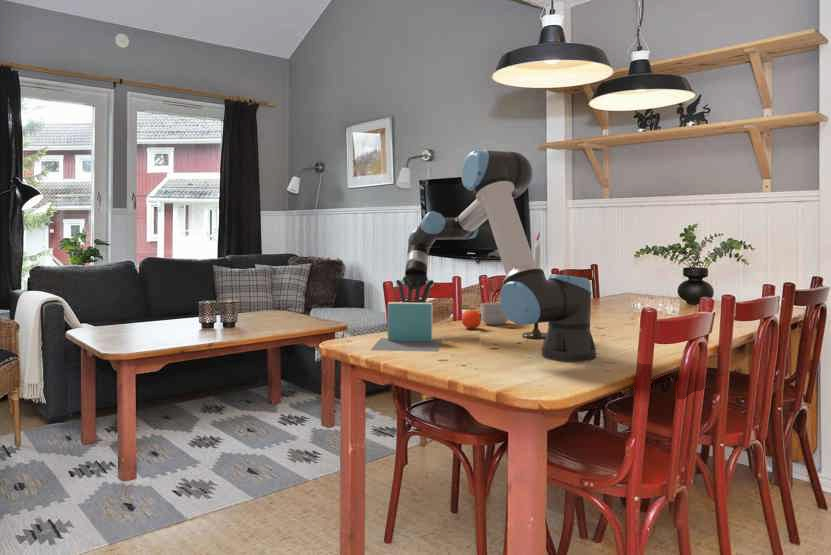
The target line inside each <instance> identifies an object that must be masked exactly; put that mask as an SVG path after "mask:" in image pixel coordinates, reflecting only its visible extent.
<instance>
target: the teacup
mask: <svg viewBox="0 0 831 555" xmlns="http://www.w3.org/2000/svg"><path fill="white" fill-rule="evenodd" d="M479 306H480V316H481V321H483V323H485V324H486V325H488V326H489V325H491V326H492V325H493V326H494V325H495V326H496V325H498V326H499V325H504V324H505V323H506V322H508V320H509V319H508V318H507V317H506V316H505V314H504V312H503V311H502V308H501V305H500V301H499V302H495V301H493V302H482V303H480V305H479Z"/></svg>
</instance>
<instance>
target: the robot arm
mask: <svg viewBox="0 0 831 555" xmlns="http://www.w3.org/2000/svg"><path fill="white" fill-rule="evenodd" d="M525 156H526V155H524V154H522V153H520V152H517V151H501V150H500V151H499V150H487V149H480V150H479V149H478V150H476V149H475V150H473V151H471V152H470V153H469V154H468V155H467V156H466V158H465V159H464V162H463V164H462V168H461V181H462V185H463V187H464V188H465V189H467V190H468V191H473V192H474V195H475V200H474V201H472V203H471V204H470V205H469V206H468V207H467V208H465V210H463V211H462V212H460V214H459V215H457V217H444V215H443V214H441V213H440V212H437V211H433V210H432V211H430V212H429V211H428V212H427V213H426V214H425V216H424V217H423V218H422V219H421V221H420V223H419V225H418V227H417V228H414V230H412V231H411V232H409V237H408V239H407V243H408V244H407V252H406V253H407V254H406V255H407V256H406V261H405V262H406V263H405V271H404V276H403V278H402V279H397V280H396V287H397V288H398V289H399V293H400V299H401V302H408V303H413V302H412V301H413V294H414V290H415V295H414V296H415V298H414V303H427V300H428V297H429V295H430V292H431V290H432V289H433V288H434V287H435V286H434V285H435V284H434V280H433V279H431V280H430V279H429V278H428V265H429V262H428V261H429V253H430V249H431V247H432V246H433V244H434V243H435V241H436V240H437V241H438V240H470V239H475V237H477V235H478V232H479V229H480V228H479V227H480V226H481V225H482V224H484V223H485V222H486V221H487V220H488V223H489V226H490V229H491V232H492V235H493V238H494V242H495V244H496V245H495V246H496V247H497V250H498V254H499V256H500V260H501V263H502V266H503V269H504V272H505V277H504V279H503V281H502V284H503V286H502V288H501V289H500V293H499V295H500V297H499V302H500V305H501V308H502V311H503V312H504V314H505V316H506V317H507V318H508V320H509V321H510V322H513V324H516V325H534V323H538V324H539V323H548V324H547V326H548V328H547V331H546V333H547V334H546V337H545V339H543V343H542V345H541V356H542V357H544V358H546V359H550V360H555V361H562V362H564V361H565V362H586V360H587V361H591V360H595V359H596V358H597V348H596V344H595V342H594V341H595V340H594V339H593V336H592V331H591V316H592V315H591V314H592V313H591V309H592V293H593V292H592V285H591V284H592V283H591V281H590V279H588V277H587V278H586V277H579V276H570V275H561V274H555V273H554V274H552V273H551V274H549V277H548V278H546V274H545V271H544V269H543V268H541V267H540V268H539V267H537V266H536V265H535V262H534V257H533V256H534V255H533V253H532V251H531V248H530V245H529V242H528V239H527V236H526V233H525V230H524V227H523V224H522V221H521V218H520V215H519V212H518V209H517V207H516V204H515V200H514V199H517V198H519V196H521V195H522V194H523V193H524V192H525V191H526V190H527V189H528V187H529V186H530V185H531V182H532V179H533V168H532V165H531V162H530V160H529V159H528V158H527V157H525ZM404 286H406V287H407V288H408V289H407V300H406V298H405V297H406V296H405V291H404ZM424 286H425V287H424ZM423 287H424V291H423V292H422V293H423V294H422V296H421V290H422V288H423ZM594 358H595V359H594Z"/></svg>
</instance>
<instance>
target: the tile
mask: <svg viewBox="0 0 831 555" xmlns="http://www.w3.org/2000/svg"><path fill="white" fill-rule="evenodd" d="M387 338H388V341H432V339H433V302H426V303H415V302H412V303H408V302H402V301H401V302H397V301H389V302H388V303H387Z"/></svg>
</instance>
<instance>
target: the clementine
mask: <svg viewBox="0 0 831 555" xmlns="http://www.w3.org/2000/svg"><path fill="white" fill-rule="evenodd" d="M462 312H463V311H461V312H460V313H459V315H461V313H462ZM461 322H462V325H463V326H464V327H465V328H466V329H469V330H474V329H477V328H478V327H479V326H480V325H481V323H482V318H481V313H480V312H479V311H477V310H475V309H472V308H471V309H465V310H464V313H462V316H461Z"/></svg>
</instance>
